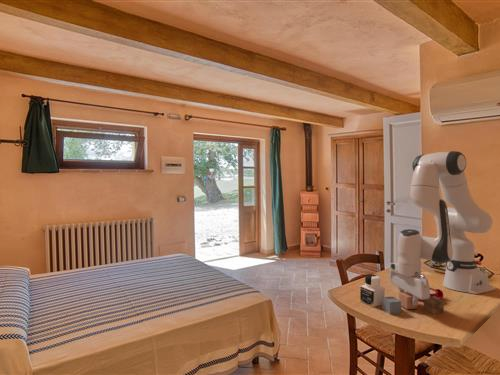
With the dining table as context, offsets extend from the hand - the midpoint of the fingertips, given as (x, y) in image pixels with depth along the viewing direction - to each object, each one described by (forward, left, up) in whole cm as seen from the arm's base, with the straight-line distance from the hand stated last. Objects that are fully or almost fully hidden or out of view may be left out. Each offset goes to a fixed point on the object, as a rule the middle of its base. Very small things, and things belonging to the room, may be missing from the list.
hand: (408, 301), depth 133 cm
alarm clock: (-16, -7, -3) cm, 18 cm away
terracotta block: (0, 0, -2) cm, 2 cm away
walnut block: (-8, +5, -3) cm, 10 cm away
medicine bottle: (+12, -7, -3) cm, 14 cm away
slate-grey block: (+9, +2, -3) cm, 10 cm away
